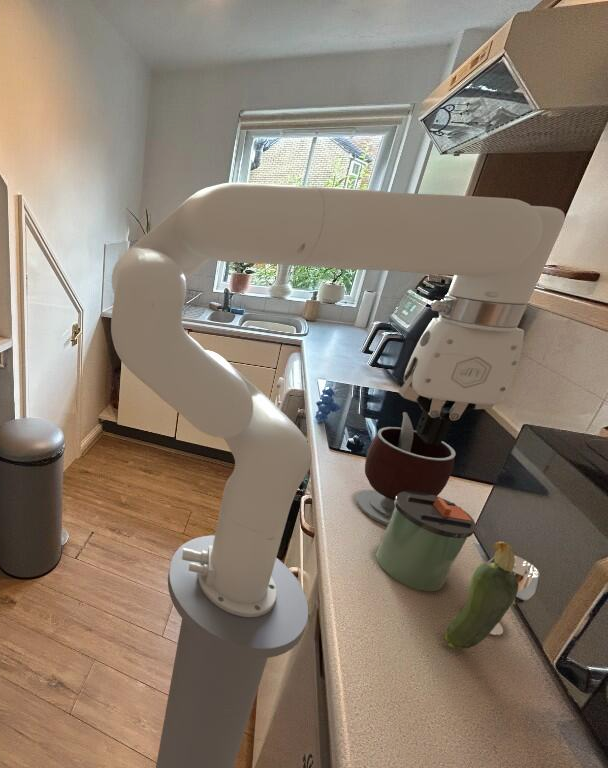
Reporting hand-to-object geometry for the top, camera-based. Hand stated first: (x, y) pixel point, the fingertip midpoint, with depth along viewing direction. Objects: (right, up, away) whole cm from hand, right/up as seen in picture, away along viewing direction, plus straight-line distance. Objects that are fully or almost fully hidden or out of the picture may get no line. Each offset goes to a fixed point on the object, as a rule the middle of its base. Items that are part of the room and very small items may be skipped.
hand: (427, 439), depth 58 cm
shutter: (+12, -14, +10) cm, 21 cm away
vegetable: (+5, -31, +1) cm, 32 cm away
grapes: (+23, -4, +68) cm, 72 cm away
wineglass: (+14, -30, +6) cm, 33 cm away
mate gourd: (+17, -20, +31) cm, 40 cm away
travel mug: (+9, -26, +16) cm, 31 cm away
